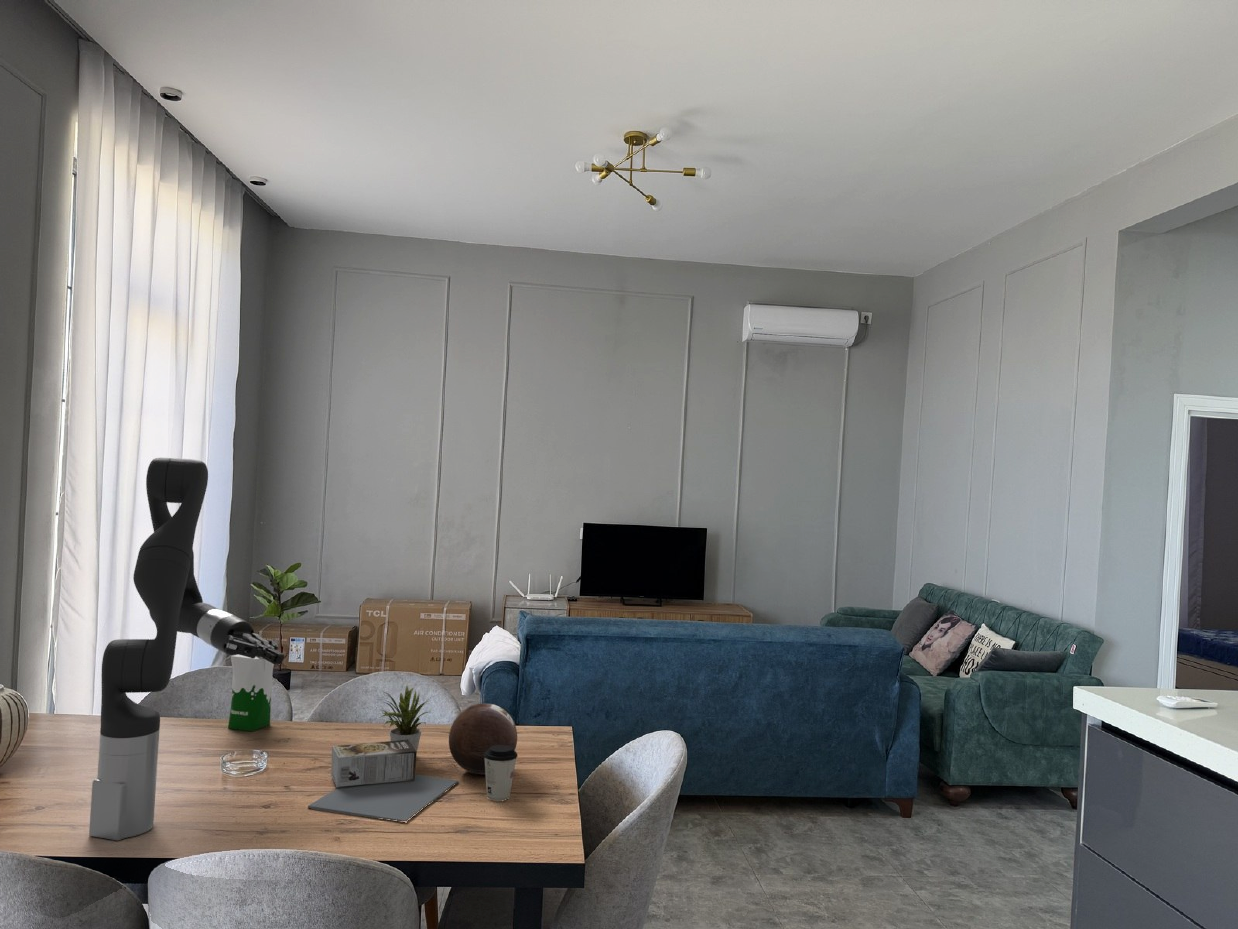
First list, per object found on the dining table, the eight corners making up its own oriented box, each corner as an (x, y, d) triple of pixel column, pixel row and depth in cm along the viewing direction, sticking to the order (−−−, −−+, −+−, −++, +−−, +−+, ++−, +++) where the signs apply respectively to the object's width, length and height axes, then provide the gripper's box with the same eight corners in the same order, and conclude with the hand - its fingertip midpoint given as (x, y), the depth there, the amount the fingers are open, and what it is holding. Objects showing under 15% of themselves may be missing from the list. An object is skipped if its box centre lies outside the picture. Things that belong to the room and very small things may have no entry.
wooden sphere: (520, 782, 191) (524, 712, 191) (450, 785, 186) (454, 714, 187) (509, 760, 205) (513, 695, 205) (443, 763, 201) (447, 696, 201)
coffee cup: (483, 804, 177) (485, 754, 177) (479, 792, 183) (481, 743, 184) (517, 803, 179) (520, 753, 179) (512, 790, 185) (515, 742, 186)
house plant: (366, 749, 208) (371, 679, 208) (426, 746, 213) (430, 677, 213) (372, 768, 194) (376, 694, 195) (436, 764, 199) (440, 692, 200)
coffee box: (331, 744, 188) (407, 738, 195) (330, 775, 188) (406, 768, 195) (338, 756, 180) (417, 750, 187) (336, 789, 179) (416, 780, 186)
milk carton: (275, 724, 224) (280, 644, 225) (252, 733, 215) (257, 651, 216) (245, 720, 226) (250, 641, 227) (221, 729, 217) (226, 647, 218)
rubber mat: (405, 823, 165) (405, 820, 165) (307, 808, 170) (308, 805, 170) (458, 782, 188) (458, 780, 188) (370, 770, 193) (370, 768, 193)
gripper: (204, 613, 182) (261, 642, 174) (255, 615, 194) (310, 642, 186) (192, 648, 182) (248, 678, 174) (244, 648, 194) (298, 676, 186)
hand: (280, 660), depth 180 cm, fingers closed
